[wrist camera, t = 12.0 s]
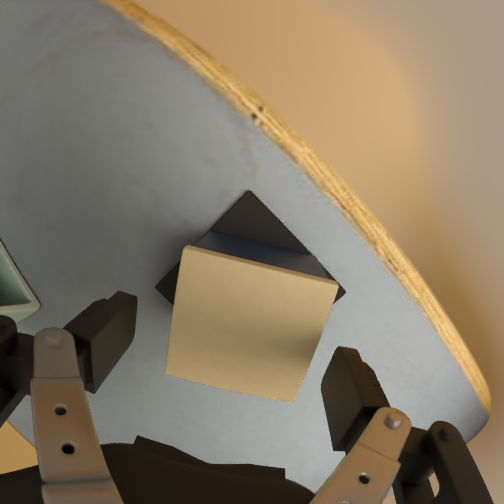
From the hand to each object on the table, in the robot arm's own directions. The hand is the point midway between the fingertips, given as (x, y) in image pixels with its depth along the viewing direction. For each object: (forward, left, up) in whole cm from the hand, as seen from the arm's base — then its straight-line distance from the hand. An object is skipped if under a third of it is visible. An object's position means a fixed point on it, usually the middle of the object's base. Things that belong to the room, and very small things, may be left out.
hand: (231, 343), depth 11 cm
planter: (+11, -22, -7) cm, 25 cm away
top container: (0, 0, -6) cm, 6 cm away
